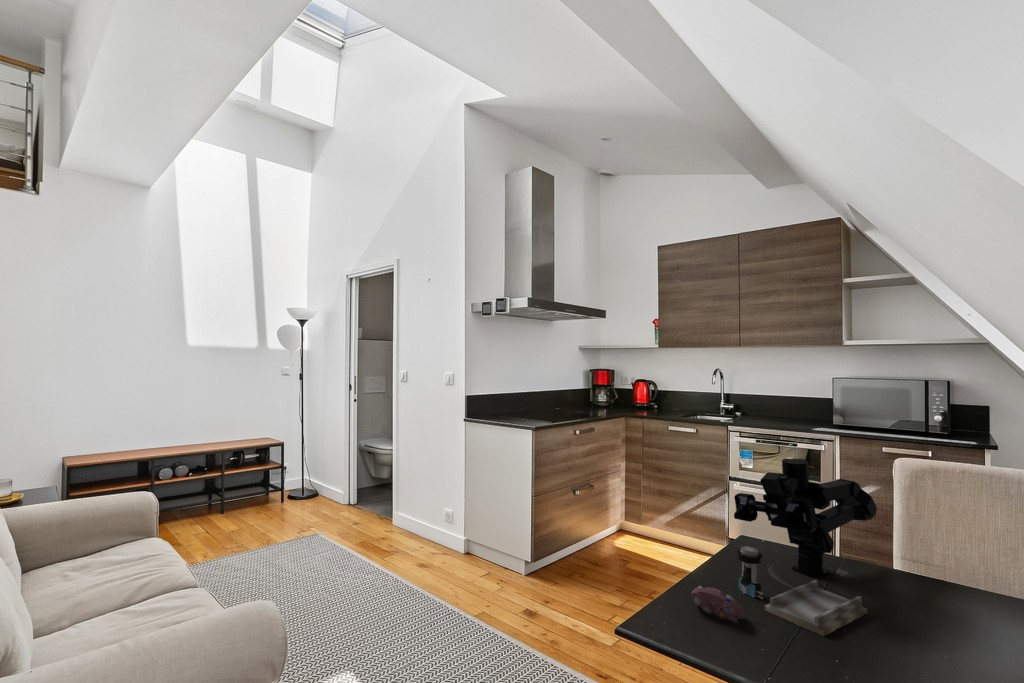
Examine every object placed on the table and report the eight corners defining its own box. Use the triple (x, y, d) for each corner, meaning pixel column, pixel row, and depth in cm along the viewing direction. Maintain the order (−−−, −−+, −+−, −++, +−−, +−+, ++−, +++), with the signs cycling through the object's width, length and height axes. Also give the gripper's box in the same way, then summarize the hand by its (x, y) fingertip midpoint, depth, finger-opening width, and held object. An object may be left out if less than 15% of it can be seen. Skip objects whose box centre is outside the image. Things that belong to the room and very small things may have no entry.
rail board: (809, 591, 121) (809, 578, 121) (867, 613, 111) (867, 599, 111) (764, 610, 111) (764, 596, 112) (823, 636, 101) (823, 620, 101)
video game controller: (691, 615, 112) (685, 590, 110) (699, 599, 115) (694, 574, 113) (739, 632, 105) (734, 606, 103) (746, 615, 108) (741, 589, 106)
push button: (771, 599, 117) (772, 554, 117) (752, 602, 115) (753, 556, 115) (749, 586, 123) (750, 543, 123) (731, 589, 121) (731, 546, 122)
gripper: (750, 468, 136) (712, 480, 128) (824, 474, 121) (786, 488, 112) (756, 511, 135) (719, 526, 127) (831, 523, 120) (794, 541, 111)
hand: (752, 519), depth 119 cm, fingers open, 9 cm apart
